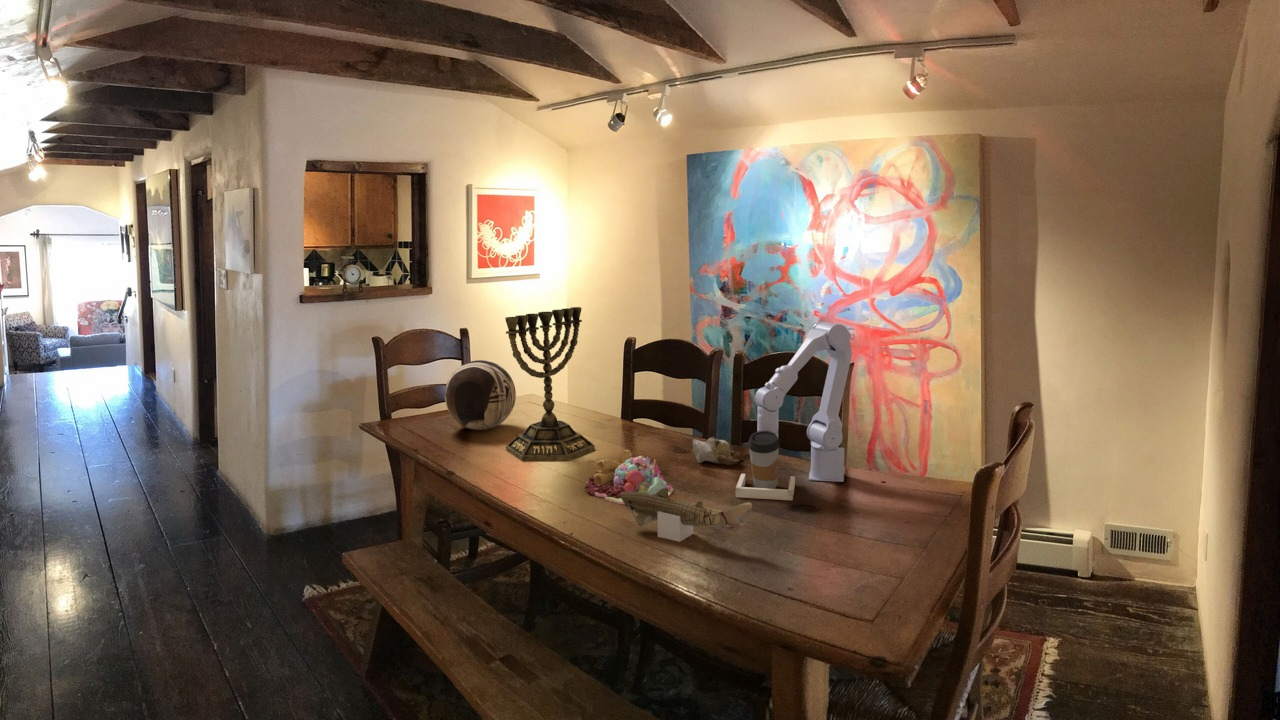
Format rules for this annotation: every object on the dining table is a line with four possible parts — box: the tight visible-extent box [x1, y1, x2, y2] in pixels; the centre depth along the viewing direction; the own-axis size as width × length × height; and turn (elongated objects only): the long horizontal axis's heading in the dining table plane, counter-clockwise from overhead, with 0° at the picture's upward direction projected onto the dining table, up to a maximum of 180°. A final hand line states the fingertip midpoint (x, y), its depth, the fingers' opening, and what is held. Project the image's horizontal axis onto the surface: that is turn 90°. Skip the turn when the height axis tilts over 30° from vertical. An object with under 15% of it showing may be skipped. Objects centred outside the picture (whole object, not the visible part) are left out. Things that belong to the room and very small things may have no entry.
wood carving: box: [620, 488, 753, 543], centre depth 191 cm, size 9×35×11 cm, turn 55°
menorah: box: [505, 306, 596, 462], centre depth 265 cm, size 36×25×45 cm
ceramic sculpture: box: [692, 435, 743, 466], centre depth 250 cm, size 11×9×15 cm
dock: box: [735, 473, 796, 501], centre depth 223 cm, size 15×13×2 cm
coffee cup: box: [747, 431, 780, 489], centre depth 222 cm, size 8×8×15 cm
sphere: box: [444, 359, 517, 431], centre depth 297 cm, size 25×25×25 cm
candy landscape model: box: [583, 449, 674, 506], centre depth 227 cm, size 25×24×9 cm
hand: (767, 479), depth 229 cm, fingers closed, pressing on coffee cup
